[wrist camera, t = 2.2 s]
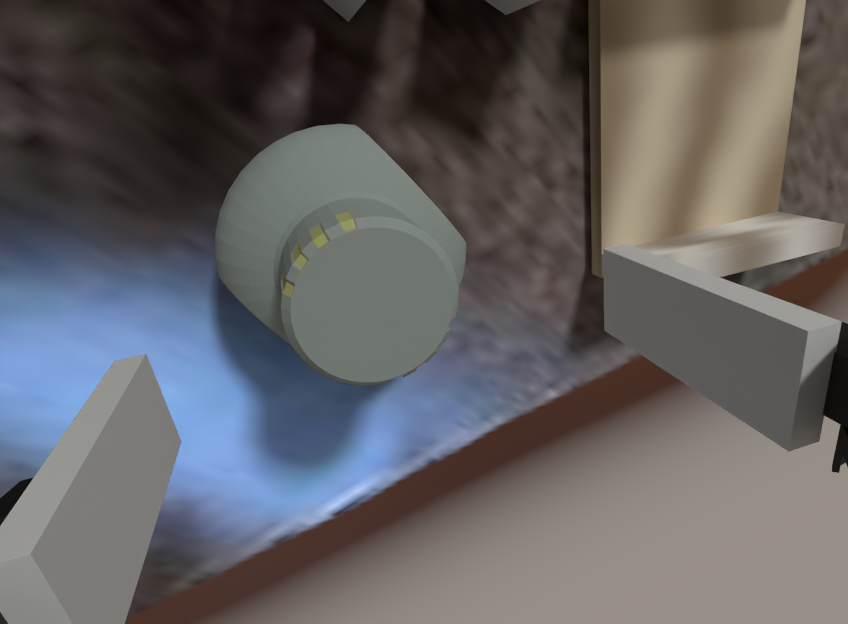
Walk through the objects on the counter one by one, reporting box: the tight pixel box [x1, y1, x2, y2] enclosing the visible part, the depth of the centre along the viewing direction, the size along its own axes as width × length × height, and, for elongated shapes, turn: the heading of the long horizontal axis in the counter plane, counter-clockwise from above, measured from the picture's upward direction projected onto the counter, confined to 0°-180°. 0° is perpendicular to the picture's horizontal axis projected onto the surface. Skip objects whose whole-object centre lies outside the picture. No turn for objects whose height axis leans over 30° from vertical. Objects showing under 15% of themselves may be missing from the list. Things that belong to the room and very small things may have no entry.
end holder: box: [588, 0, 845, 278], centre depth 26 cm, size 12×17×5 cm
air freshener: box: [215, 124, 466, 386], centre depth 21 cm, size 11×8×10 cm
